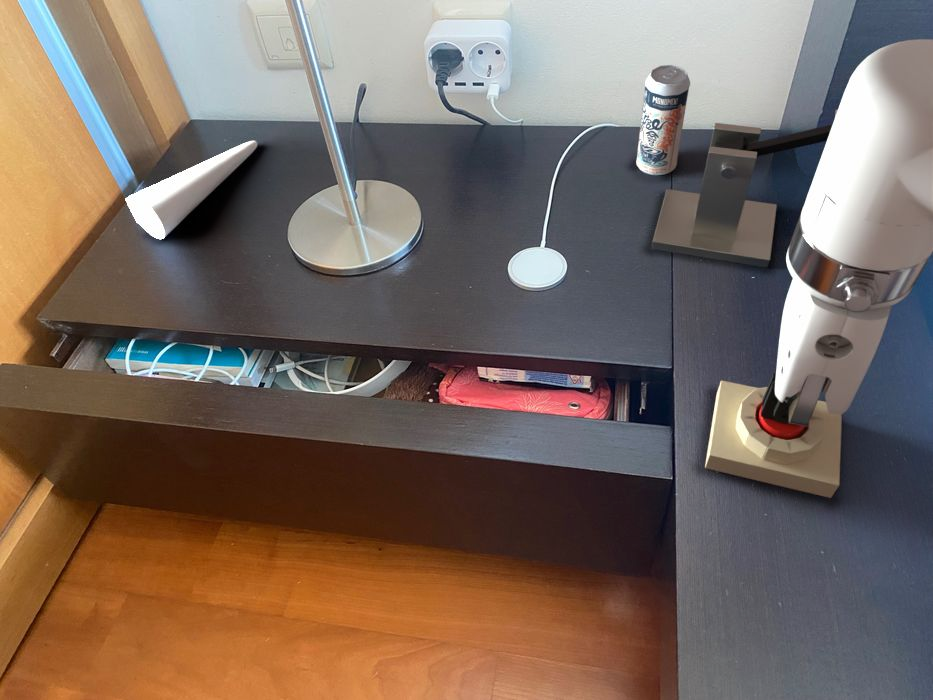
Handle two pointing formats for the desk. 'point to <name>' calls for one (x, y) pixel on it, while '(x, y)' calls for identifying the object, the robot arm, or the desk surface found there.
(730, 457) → the switch block
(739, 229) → the bracket
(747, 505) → the desk surface
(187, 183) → the long cone
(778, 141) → the lever
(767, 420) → the button
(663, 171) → the beer can
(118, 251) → the desk surface
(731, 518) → the desk surface
